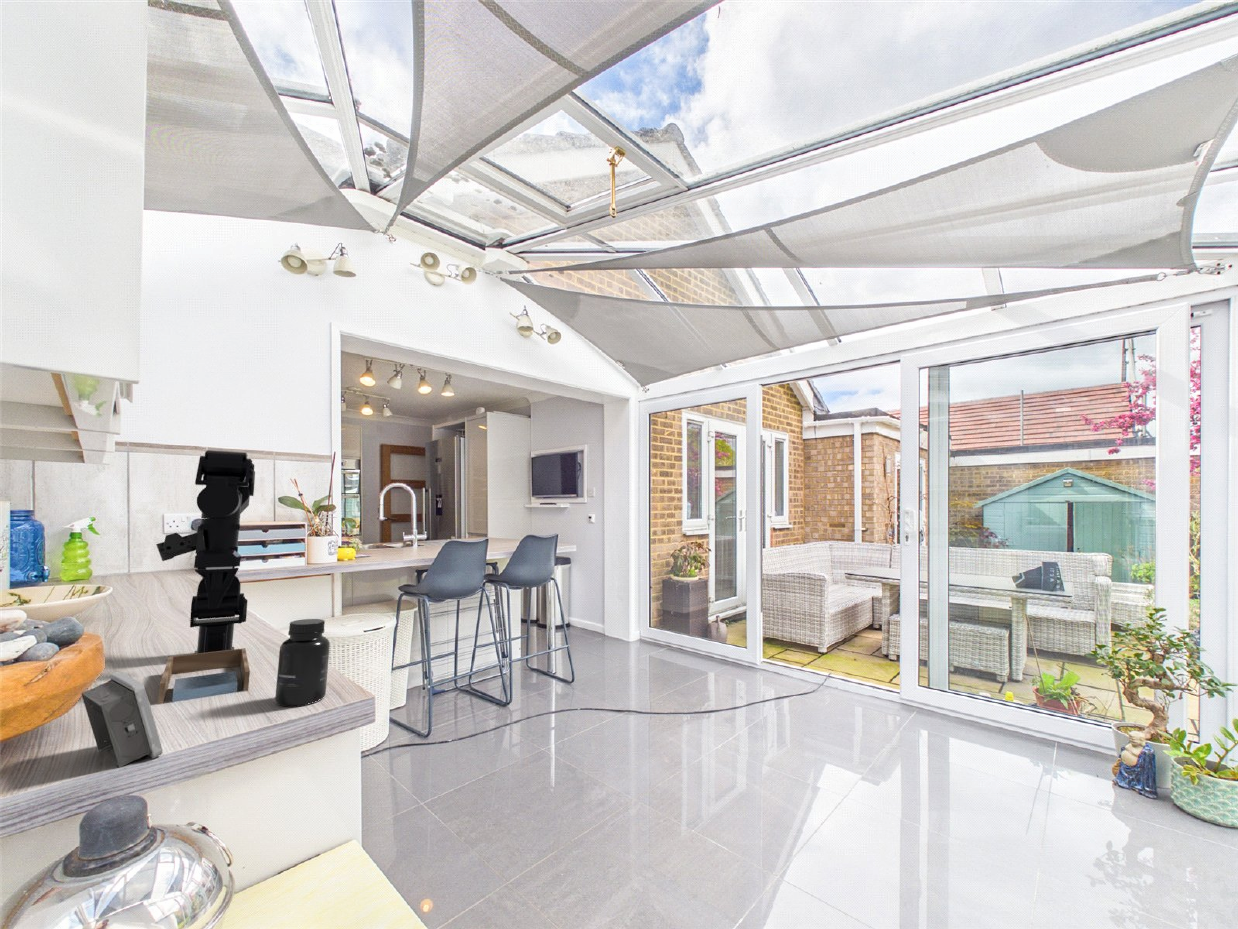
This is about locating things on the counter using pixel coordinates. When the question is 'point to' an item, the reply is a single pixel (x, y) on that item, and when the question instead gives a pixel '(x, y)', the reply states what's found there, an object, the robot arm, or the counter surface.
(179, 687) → the cover plate
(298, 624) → the supplement bottle
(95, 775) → the counter surface
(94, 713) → the electrical switch
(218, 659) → the open box
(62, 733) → the counter surface
